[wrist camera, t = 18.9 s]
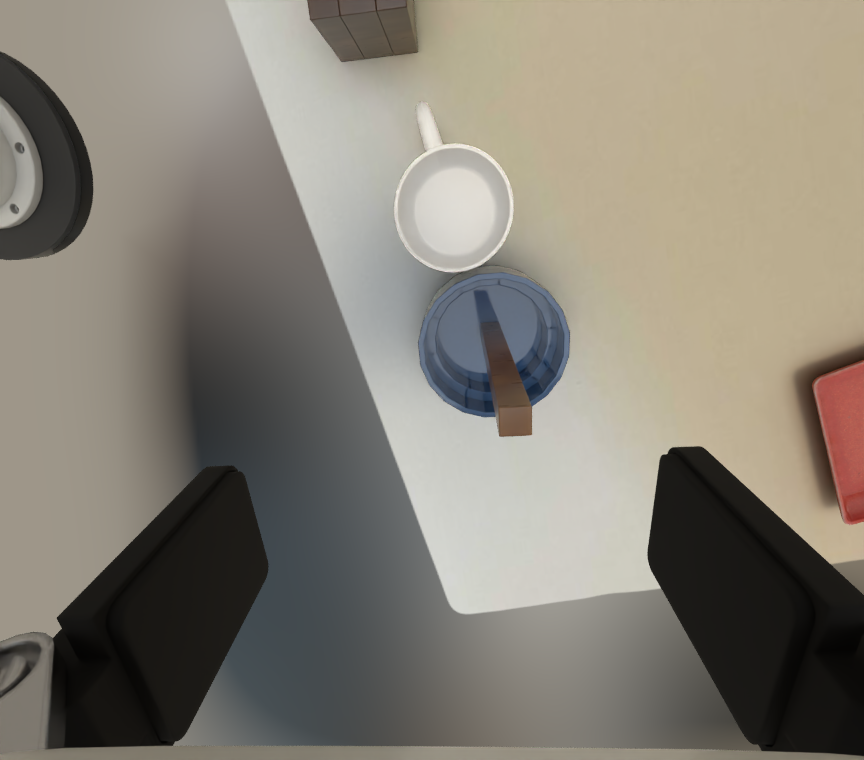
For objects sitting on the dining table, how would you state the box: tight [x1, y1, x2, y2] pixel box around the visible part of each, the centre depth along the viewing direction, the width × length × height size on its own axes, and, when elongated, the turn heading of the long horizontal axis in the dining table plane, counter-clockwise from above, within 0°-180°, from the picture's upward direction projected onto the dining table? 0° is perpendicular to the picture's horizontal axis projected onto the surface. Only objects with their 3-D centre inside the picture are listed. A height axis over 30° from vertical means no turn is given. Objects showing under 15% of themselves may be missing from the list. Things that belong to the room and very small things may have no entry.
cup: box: [394, 101, 514, 272], centre depth 33 cm, size 8×12×10 cm
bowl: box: [418, 266, 570, 417], centre depth 40 cm, size 13×13×6 cm
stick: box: [481, 322, 532, 437], centre depth 33 cm, size 2×2×20 cm
